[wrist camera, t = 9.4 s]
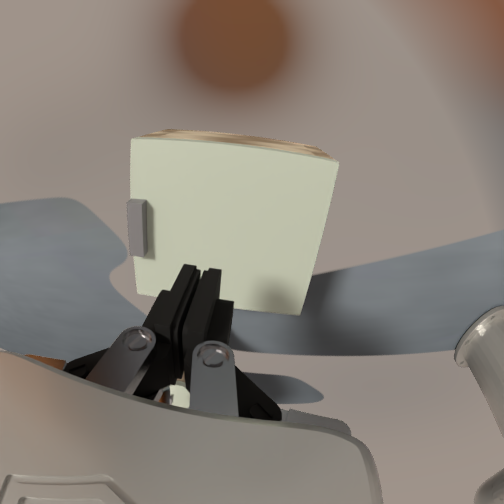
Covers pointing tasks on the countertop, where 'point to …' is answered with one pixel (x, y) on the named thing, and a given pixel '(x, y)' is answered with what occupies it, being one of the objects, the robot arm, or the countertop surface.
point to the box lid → (228, 218)
